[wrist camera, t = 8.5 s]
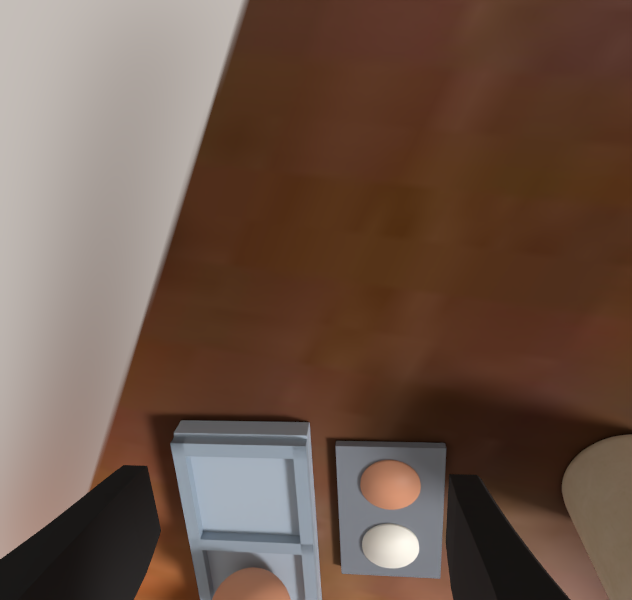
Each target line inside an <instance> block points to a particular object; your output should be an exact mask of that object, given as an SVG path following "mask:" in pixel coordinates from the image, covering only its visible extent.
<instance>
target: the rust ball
mask: <svg viewBox="0 0 632 600" xmlns="http://www.w3.org/2000/svg"><path fill="white" fill-rule="evenodd" d="M212 600H291V599H290V596H289V593H288V591H287V589H286V587H285V585H284V584H283V582H282V581H281V580H280V579H279V578H278V577H277V576H276V575H274V574H273V573H272V572H270V571H268V570H265V569H262V568H256V567H250V568H244V569H241V570H238V571H236V572H234V573H233V574H231V575H230V576H228V577H227V578H226V579H225V580H224V581H223V582H222V583H221V584H220V586H219V587H218V589H217V590H216V592H215V594H214V596H213V598H212Z"/></svg>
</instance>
